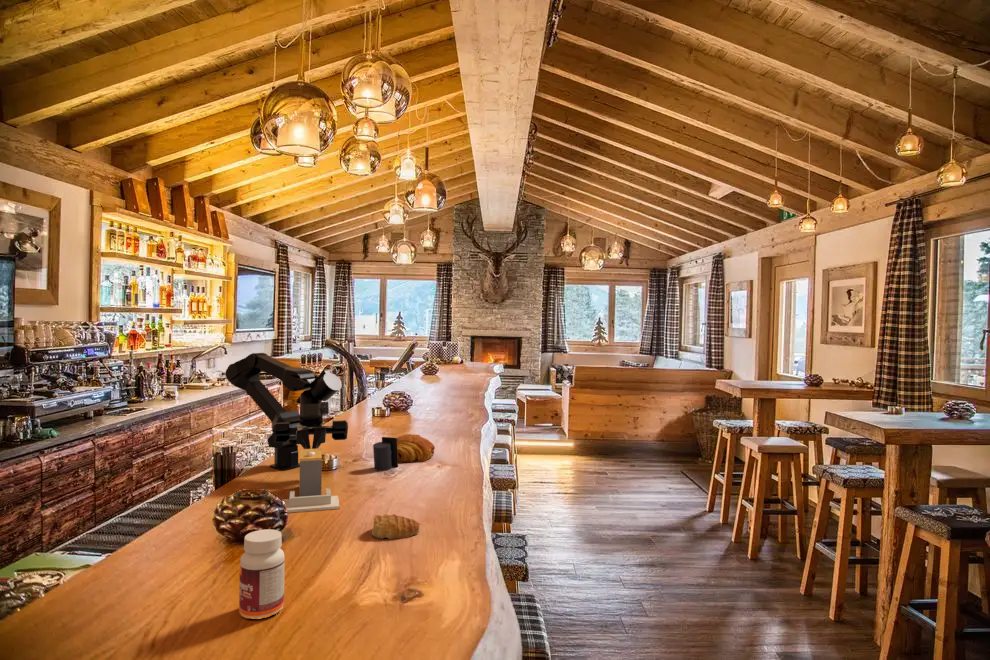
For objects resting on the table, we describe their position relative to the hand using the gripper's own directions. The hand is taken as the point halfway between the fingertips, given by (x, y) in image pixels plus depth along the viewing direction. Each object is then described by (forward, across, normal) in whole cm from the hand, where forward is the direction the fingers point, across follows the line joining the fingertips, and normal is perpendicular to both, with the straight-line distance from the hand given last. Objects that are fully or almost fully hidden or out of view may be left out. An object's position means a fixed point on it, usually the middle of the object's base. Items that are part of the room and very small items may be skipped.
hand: (311, 459), depth 151 cm
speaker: (-3, +20, +13) cm, 24 cm away
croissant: (-11, +30, +21) cm, 39 cm away
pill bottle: (+51, -8, -41) cm, 66 cm away
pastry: (+32, +15, -22) cm, 42 cm away
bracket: (+17, 0, -7) cm, 18 cm away
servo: (+9, 0, 0) cm, 9 cm away
